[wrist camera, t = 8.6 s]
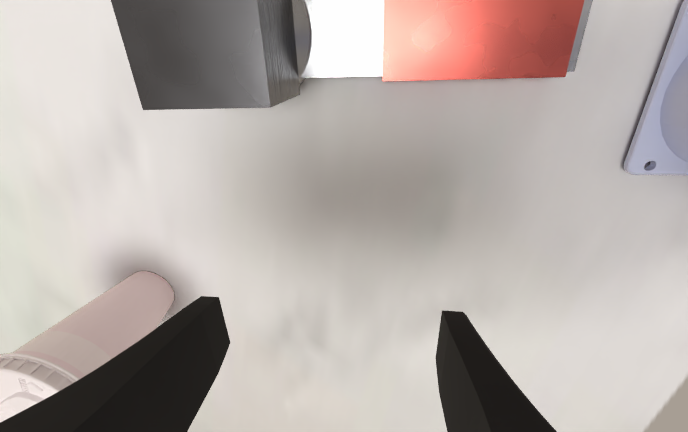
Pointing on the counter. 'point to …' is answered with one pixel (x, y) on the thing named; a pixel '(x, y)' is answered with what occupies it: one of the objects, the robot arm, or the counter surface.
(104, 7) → the counter surface
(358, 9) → the ratchet
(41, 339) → the smoothie
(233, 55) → the charcoal grey cube
